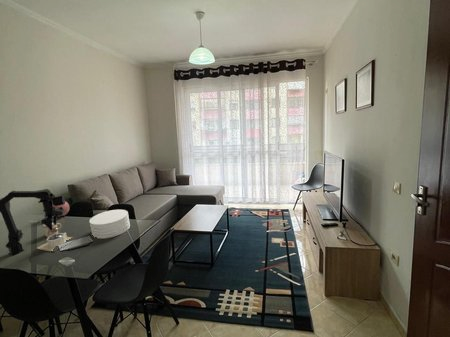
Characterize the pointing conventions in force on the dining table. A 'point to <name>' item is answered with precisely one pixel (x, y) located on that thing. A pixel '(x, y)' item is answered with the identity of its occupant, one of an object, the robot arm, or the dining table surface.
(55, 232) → the plunger
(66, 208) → the balloon
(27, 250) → the dining table surface
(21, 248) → the robot arm
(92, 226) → the plate stack
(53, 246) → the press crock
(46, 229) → the teacup with lid
